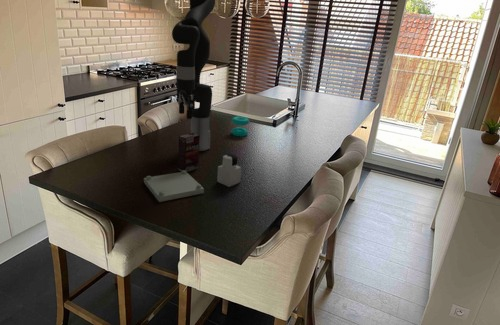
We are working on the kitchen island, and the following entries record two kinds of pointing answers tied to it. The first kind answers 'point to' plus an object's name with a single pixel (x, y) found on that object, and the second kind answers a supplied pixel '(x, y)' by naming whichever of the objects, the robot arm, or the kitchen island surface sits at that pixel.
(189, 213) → the kitchen island surface
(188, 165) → the supplement box
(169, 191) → the stud plate
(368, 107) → the kitchen island surface
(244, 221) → the kitchen island surface
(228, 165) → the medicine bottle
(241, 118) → the donuts
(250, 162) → the kitchen island surface
